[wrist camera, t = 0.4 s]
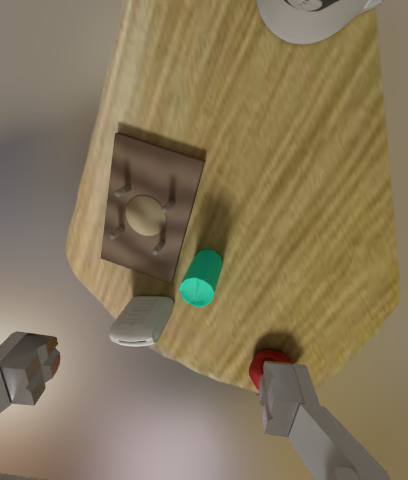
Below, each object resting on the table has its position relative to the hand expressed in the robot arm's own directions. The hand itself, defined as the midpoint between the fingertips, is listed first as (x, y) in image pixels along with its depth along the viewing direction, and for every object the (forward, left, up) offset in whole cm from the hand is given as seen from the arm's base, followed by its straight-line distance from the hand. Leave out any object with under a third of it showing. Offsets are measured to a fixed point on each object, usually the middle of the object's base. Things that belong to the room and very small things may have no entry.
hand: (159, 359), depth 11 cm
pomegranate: (+38, +21, -40) cm, 59 cm away
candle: (+19, 0, -40) cm, 45 cm away
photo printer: (+34, -9, -40) cm, 54 cm away
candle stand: (+13, -14, -40) cm, 45 cm away
